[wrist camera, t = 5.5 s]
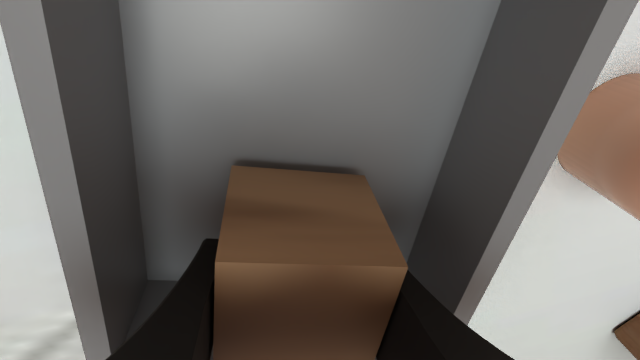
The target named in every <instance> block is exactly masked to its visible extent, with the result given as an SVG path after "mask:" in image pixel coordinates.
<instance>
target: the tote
mask: <svg viewBox="0 0 640 360" xmlns="http://www.w3.org/2000/svg"><path fill="white" fill-rule="evenodd" d="M638 1H639V0H0V23H1V27H2V31H3V35H4V39H5V43H6V47H7V51H8V55H9V59H10V62H11V66H12V70H13V74H14V78H15V82H16V86H17V90H18V94H19V98H20V102H21V106H22V110H23V114H24V118H25V121H26V125H27V129H28V133H29V137H30V141H31V145H32V149H33V153H34V157H35V161H36V165H37V169H38V173H39V177H40V181H41V184H42V188H43V192H44V196H45V200H46V204H47V208H48V212H49V216H50V220H51V224H52V228H53V232H54V236H55V240H56V243H57V247H58V251H59V255H60V259H61V263H62V267H63V271H64V275H65V279H66V283H67V287H68V291H69V295H70V299H71V302H72V306H73V310H74V314H75V318H76V322H77V326H78V330H79V334H80V338H81V342H82V346H83V350H84V354H85V358H86V360H106V359H107V358H108V357H109V356H110V355H111V354H112V353H113V352H114V351H115V350H117V349H118V348H119V347H120V346H121V345H122V344H123V343H124V342H125V341H126V340H127V339H128V338H129V337H130V336H131V335H132V334H133V333H134V332H135V331H136V330H137V329H138V328H139V327H140V326H141V325H142V324H143V323H144V322H145V321H146V319H147V318H148V317H149V316H150V315H151V314H152V313H153V312H154V311H155V309H156V308H157V307H158V306H159V305H160V303H161V302H162V301H163V300H164V298H165V297H166V296H167V295H168V294H169V292H170V291H171V290H172V289H173V287H174V286H175V285H176V283H177V282H178V280H179V279H180V278H181V276H182V275H183V273H184V272H185V270H186V269H187V268H188V266H189V265H190V263H191V261H192V260H193V258H194V257H195V255H196V253H197V252H198V250H199V248H200V246H201V244H202V242H203V240H205V239H206V238H211V239H219V236H220V230H221V224H222V218H223V213H224V207H225V201H226V195H227V189H228V183H229V178H230V172H231V166H232V165H234V166H247V167H260V168H273V169H286V170H299V171H312V172H326V173H339V174H352V175H365V177H366V180H367V182H368V184H369V186H370V188H371V190H372V192H373V194H374V196H375V198H376V200H377V203H378V205H379V207H380V209H381V211H382V213H383V215H384V217H385V219H386V221H387V223H388V226H389V228H390V230H391V232H392V234H393V236H394V238H395V240H396V242H397V244H398V247H399V249H400V251H401V253H402V255H403V257H404V259H405V261H406V263H407V265H408V270H409V271H410V273H411V274H412V275H413V276H414V277H415V278H416V279H417V280H418V281H419V282H420V283H421V284H422V285H423V286H424V287H425V288H426V289H427V290H428V291H429V292H430V293H431V294H432V295H433V296H434V297H435V298H436V299H437V300H438V301H439V302H440V303H441V304H442V305H444V306H445V307H446V308H447V309H448V310H449V311H450V312H451V313H452V314H454V315H455V316H456V317H457V318H458V319H460V320H461V321H462V322H463V323H464V324H466V325H468V323H469V321H470V319H471V317H472V315H473V314H474V312H475V310H476V308H477V306H478V304H479V302H480V300H481V298H482V296H483V295H484V293H485V291H486V289H487V287H488V285H489V283H490V281H491V279H492V277H493V276H494V274H495V272H496V270H497V268H498V266H499V264H500V262H501V260H502V259H503V257H504V255H505V253H506V251H507V249H508V247H509V245H510V243H511V241H512V240H513V238H514V236H515V234H516V232H517V230H518V228H519V226H520V224H521V223H522V221H523V219H524V217H525V215H526V213H527V211H528V209H529V207H530V205H531V204H532V202H533V200H534V198H535V196H536V194H537V192H538V190H539V188H540V186H541V185H542V183H543V181H544V179H545V177H546V175H547V173H548V171H549V169H550V168H551V166H552V164H553V162H554V160H555V158H556V156H557V154H558V152H559V150H560V149H561V147H562V145H563V143H564V141H565V139H566V137H567V135H568V133H569V132H570V130H571V128H572V126H573V124H574V122H575V120H576V118H577V116H578V114H579V113H580V111H581V109H582V107H583V105H584V103H585V101H586V99H587V97H588V95H589V94H590V92H591V90H592V88H593V86H594V84H595V82H596V80H597V78H598V77H599V75H600V73H601V71H602V69H603V67H604V65H605V63H606V61H607V59H608V58H609V56H610V54H611V52H612V50H613V48H614V46H615V44H616V42H617V40H618V39H619V37H620V35H621V33H622V31H623V29H624V27H625V25H626V23H627V22H628V20H629V18H630V16H631V14H632V12H633V10H634V8H635V6H636V4H637V3H638ZM210 360H213V347H212V352H211V356H210ZM375 360H377V359H376V357H375Z"/></svg>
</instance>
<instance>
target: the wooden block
mask: <svg viewBox="0 0 640 360" xmlns="http://www.w3.org/2000/svg"><path fill="white" fill-rule="evenodd" d="M614 333H615V335H616V338H617V339H618V340H619V341H620V342H621V343H622V344H623V345H624V346H625V347H626V348H627V349H628V350H629V351H630V352H631V353H632V355H633V356H634V357H635V358H636V359H637V360H640V314H638V315H637V316H635V317H634V318H632V319H631V320H629V321H628V322H626V323H625V324H623V325H622V326H620V327H619V328H618V329H616V330H615V332H614Z"/></svg>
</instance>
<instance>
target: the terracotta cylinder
mask: <svg viewBox="0 0 640 360" xmlns="http://www.w3.org/2000/svg"><path fill="white" fill-rule="evenodd" d="M557 156H558V160H559V162H560V164H561V166H562V167H563V168H564V169H565V170H566V171H567V172H568V173H570V174H571V175H573V176H574V177H576V178H577V179H579V180H580V181H582V182H583V183H585V184H586V185H587V186H589V187H590V188H592V189H593V190H595V191H596V192H598V193H599V194H601V195H602V196H604V197H605V198H607V199H608V200H610V201H611V202H613V203H614V204H616V205H617V206H619V207H620V208H621V209H623V210H624V211H626V212H627V213H629V214H630V215H632V216H633V217H635V218H636V219H638V220H639V221H640V74H638V73H635V74H627V75H622V76H619V77H616V78H613V79H611V80H609V81H607V82H605V83H603V84H601V85H600V86H598V87H597V88H595V89H594V90H592V91H591V92H590V94H589V95H588V97H587V99H586V101H585V103H584V105H583V107H582V109H581V111H580V113H579V114H578V116H577V118H576V120H575V122H574V124H573V126H572V128H571V130H570V132H569V133H568V135H567V137H566V139H565V141H564V143H563V145H562V147H561V149H560V150H559V152H558V154H557Z"/></svg>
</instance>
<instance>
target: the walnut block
mask: <svg viewBox="0 0 640 360" xmlns="http://www.w3.org/2000/svg"><path fill="white" fill-rule="evenodd" d="M407 269H408V265H407V263H406V261H405V259H404V257H403V255H402V253H401V251H400V249H399V247H398V244H397V242H396V240H395V238H394V236H393V234H392V232H391V230H390V228H389V226H388V223H387V221H386V219H385V217H384V215H383V213H382V211H381V209H380V207H379V205H378V203H377V200H376V198H375V196H374V194H373V192H372V190H371V188H370V186H369V184H368V182H367V180H366V177H365V175H352V174H339V173H326V172H312V171H299V170H286V169H273V168H260V167H247V166H234V165H232V166H231V172H230V178H229V183H228V189H227V195H226V201H225V207H224V213H223V218H222V224H221V230H220V236H219V242H218V247H217V253H216V259H215V286H214V338H213V360H375V357H376V354H377V352H378V349H379V346H380V343H381V341H382V338H383V335H384V332H385V330H386V327H387V324H388V322H389V319H390V316H391V313H392V311H393V308H394V305H395V302H396V300H397V297H398V294H399V291H400V289H401V286H402V283H403V280H404V278H405V275H406V272H407Z"/></svg>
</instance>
